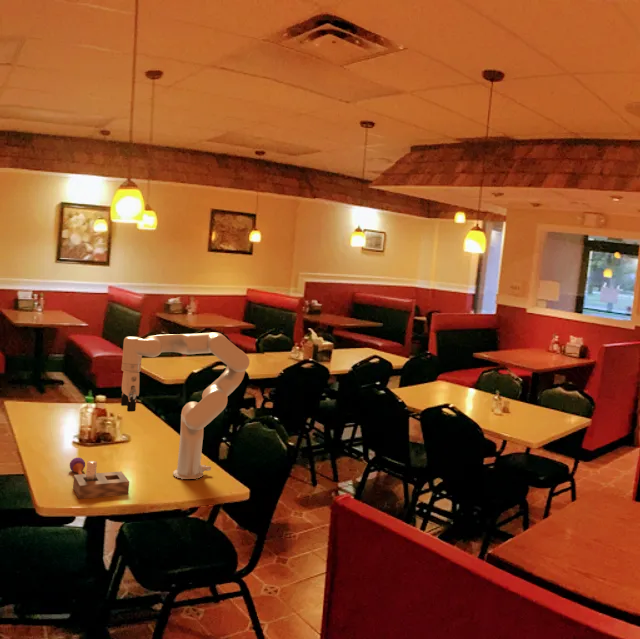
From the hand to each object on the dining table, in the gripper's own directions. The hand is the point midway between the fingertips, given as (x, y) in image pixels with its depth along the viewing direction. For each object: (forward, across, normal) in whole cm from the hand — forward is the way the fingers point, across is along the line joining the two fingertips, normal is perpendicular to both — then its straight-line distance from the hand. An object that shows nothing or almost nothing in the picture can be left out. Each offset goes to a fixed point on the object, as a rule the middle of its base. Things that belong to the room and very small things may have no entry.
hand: (128, 408), depth 264 cm
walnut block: (+28, -15, +12) cm, 34 cm away
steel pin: (+27, -15, +16) cm, 35 cm away
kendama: (+29, +2, +17) cm, 33 cm away
